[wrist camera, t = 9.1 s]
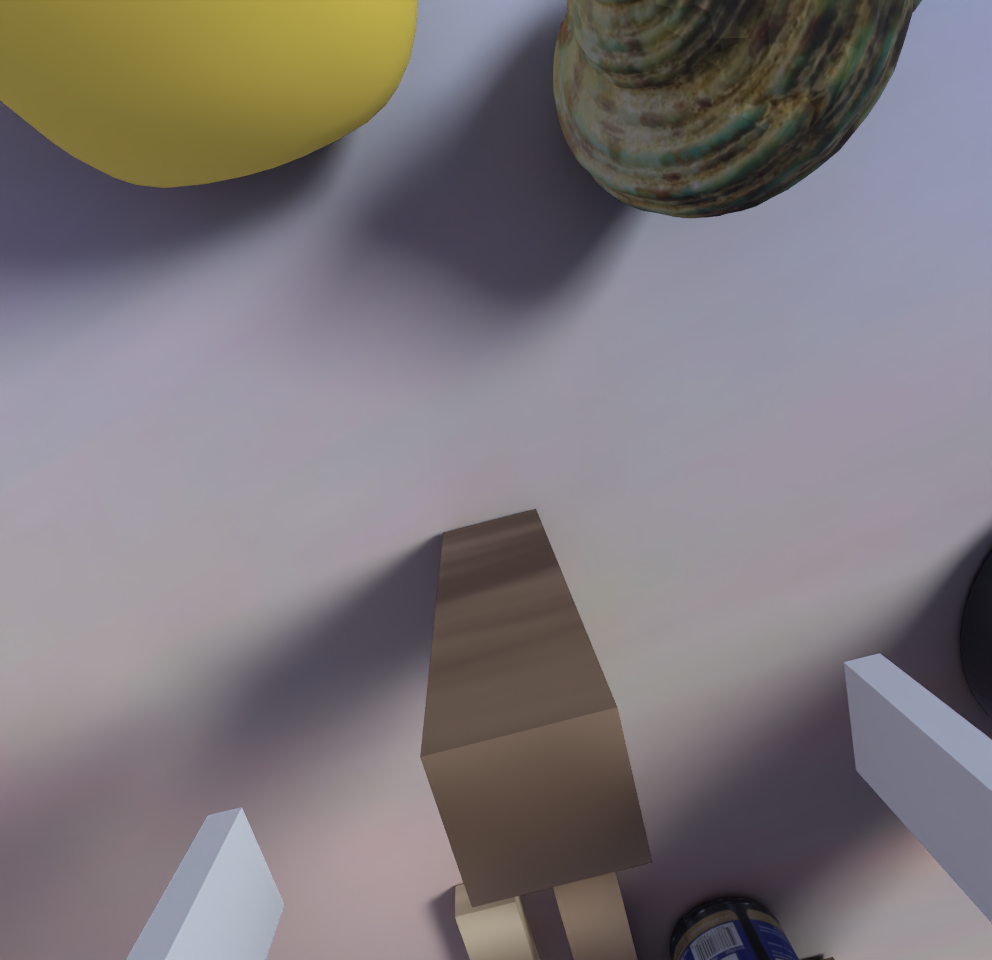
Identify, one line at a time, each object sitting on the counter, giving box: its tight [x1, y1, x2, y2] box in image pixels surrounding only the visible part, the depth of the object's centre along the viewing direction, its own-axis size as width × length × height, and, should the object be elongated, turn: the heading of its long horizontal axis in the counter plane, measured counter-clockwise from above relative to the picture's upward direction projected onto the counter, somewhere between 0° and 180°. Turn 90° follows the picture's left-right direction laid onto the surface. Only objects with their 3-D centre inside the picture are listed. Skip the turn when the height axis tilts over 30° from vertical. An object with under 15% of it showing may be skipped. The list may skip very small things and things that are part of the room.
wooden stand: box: [420, 509, 834, 960], centre depth 21 cm, size 31×14×13 cm, turn 14°
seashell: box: [553, 0, 922, 218], centre depth 16 cm, size 11×11×10 cm
